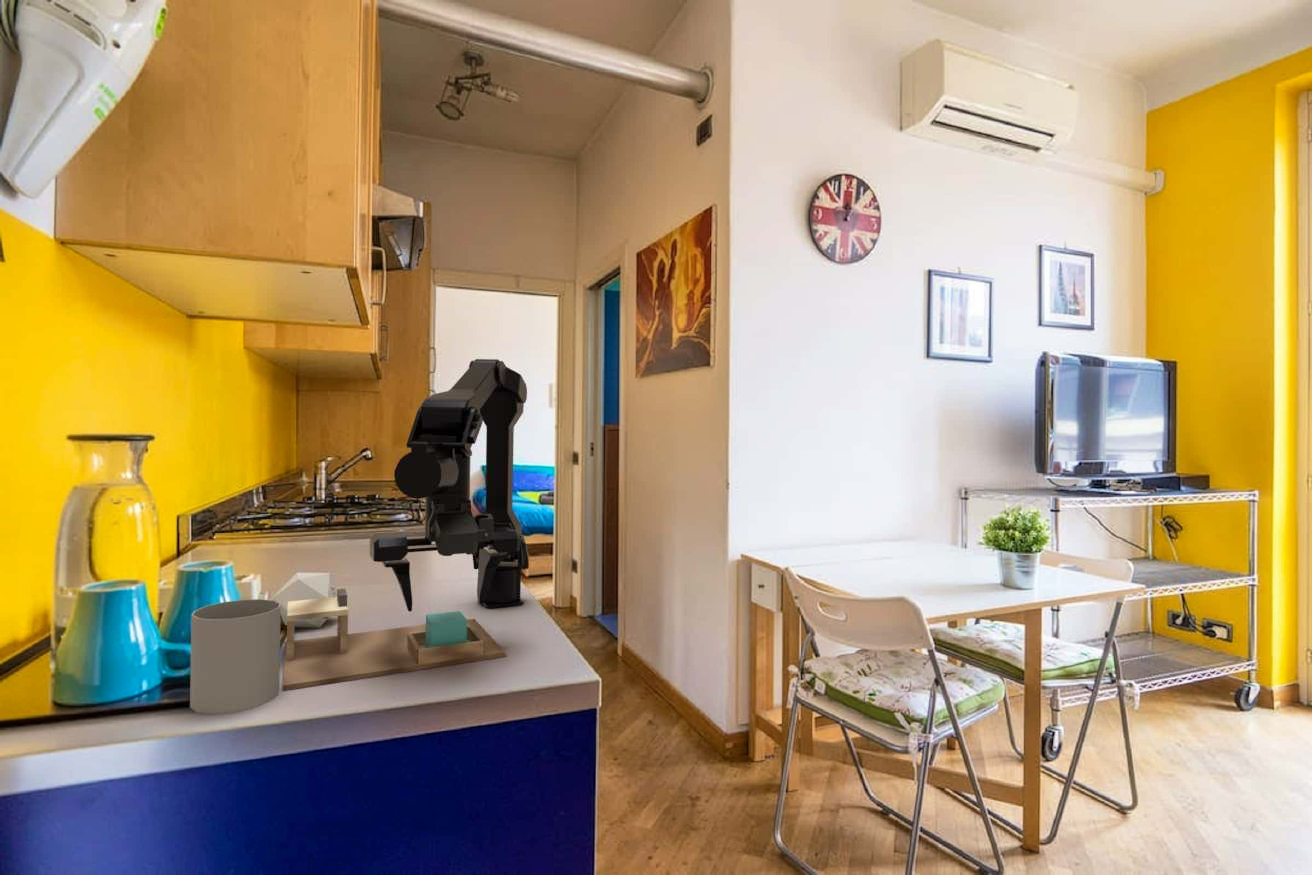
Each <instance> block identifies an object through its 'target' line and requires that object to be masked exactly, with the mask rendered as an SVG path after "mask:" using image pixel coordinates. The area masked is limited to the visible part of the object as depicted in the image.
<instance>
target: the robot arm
mask: <svg viewBox="0 0 1312 875" xmlns="http://www.w3.org/2000/svg"><path fill="white" fill-rule="evenodd" d="M463 373H464V372H463ZM527 397H528V388H527V384H526V381H525V380H524V378H523V376H522V375H521V374H520V373H519V372H517V371H516V370H513V369H511V368H509V367H507V366H506V364H505V362H504V361H503V360H500V359H496V358H495V359H493V358H492V359H491V358H489V359H487V358H476V359H474V360H471V361H470V362H469V365H468V369H467V370H466V371H465V373H464V374H463V375H461V377H460V378H459V379H458V380H457V381H456V382H455V383H454V385H453V386H452V387H451V388H450V389H448V390H447V391H443V392H442V391H441V392H438V393H437V392H436V393H434V394H432V395H430V396H428V397H426V398H425V399H424V400H423V401H422V403H421V405H419V407H418V409H417V412H416V415H415V417H414V420H413V424H412V427H411V430H410V432H409V435H408V439H407V442H406V448H407V449H410V452H408V453H406V454H404V455H403V456H402V457H401V458H400V459H399V461H398V462H397V464H396V467H395V469H394V473H393V475H394V482H395V484H396V486H397V488H398V489H399V491H400V492H401V493H402V494H403V495H405V496H406V497H409V498H412V499H418V500H419V499H424V498H425V499H424V501H425V502H424V504H425V505H424V537H423V536H422V537H409V538H408V537H407V536H406V535H405V533H404V532H400V531H399V532H383V533H382V532H380V533H374V534H373V535H372V536H371V537H370V539H369V556H370V557H371V559H372V561H373V562H375V563H382V565H383V567H385V568H391V569H392V571H393V573H394V575H395V577H396V580H397V583H398V586H399V588H400V591H401V595H402V596H403V597H402V598H403V600H404V603H405V607H406V609H407V611H408V612H413V611H412V610H413V595H412V594H413V593H412V583H411V575H410V568H411V566H410V564H411V563H410V561H409V559H408V558H407V555H408V553H420V552H435V551H437V553H438V555H440V556H442V557H443V556H444V557H452V556H453V555H463V554H465V555H469V556H470V555H472V563H473V570H478V571H477V582H476V583H477V586H476V595H477V603H478V604H480V605H481V604H482V605H483V606H484V608H487V609H491V608H501V607H510V606H518V605H524V603H525V602H524V600H522V598H521V591H522V590H521V588H522V586H521V585H522V584H521V582H522V581H521V579H522V578H521V577H522V571H523V570H528V569H529V568H530V556H529V550H528V544H527V542H526V540H525V537H524V535H523V533H522V532H523V531H522V527H523V526H522V523H521V522H520V520H519V518H518V516H517V515H516V513H515V511H514V510H513V509H514V508H513V502H514V501H513V500H514V499H513V492H514V491H513V490H514V489H513V488H514V443H515V442H514V438H515V437H514V436H515V435H514V434H515V433H514V432H515V426H516V424H517V423H518V421H519V420H520V419H521V416H522V415H523V414H524V408H525V407H524V404H525V403H526V402H527V399H528V398H527ZM483 423H484V425H485V428H486V436H485V438H486V439H485V440H486V444H485V445H486V446H485V448H486V449H485V450H486V451H485V501H484V502H485V503H484V505H485V508H484V509H485V510H484V513H479V514H476V515H475V516H473V515H474V514H473V512H472V500H471V499H470V498H471V491H470V490H471V457H472V456H473V451H472V449H471V448H472V446H473V445H475V444H476V442H477V439H478V436H479V434H480V431H481V428H482V426H483ZM433 542H434V543H433Z"/></svg>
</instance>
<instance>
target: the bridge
mask: <svg viewBox="0 0 1312 875" xmlns="http://www.w3.org/2000/svg"><path fill="white" fill-rule="evenodd" d="M336 589H337V597H330V598H320V599H310V600H299V601H289V602H288V611H287V627H286V642H287V660H294V641H295V627H294V621H295V620H304V619H313V618H322V617H328V618H330V617H337V621H336V622H337V623H336V624H337V625H336V626H337V631H336V632H337V633H336V634H337V635H336V636H337V638H340V652H341V653H346V652H347V644H348V634H349V630H348V629H349V628H348V627H349V608H348V594H347V590H346V588H336Z"/></svg>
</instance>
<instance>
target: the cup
mask: <svg viewBox="0 0 1312 875" xmlns="http://www.w3.org/2000/svg"><path fill="white" fill-rule="evenodd" d="M190 617H191V622H190V626H191V627H190V678H189V679H190V682H189V683H190V684H189V685H190V686H189V689H190V690H189V693H190V694H189V696H190V697H189V708H190V710H192V711H193V712H195V713H196V714H205V715H221V714H232V713H237V712H241V711H245V710H251V709H254V708H256V707H259V706H261V705H264V704H267V703H269V702H270V701H272V700H273V699H275V698H276V697H278V696H279V693H280V672H281V669H280V668H281V667H280V666H281V665H280V664H281V663H280V662H281V657H280V656H281V603H279V602H276V601H274V599H273V600H271V599H261V598H260V599H259V598H258V599H256V598H255V599H239V600H231V601H223V602H218V603H213V604H210V605H209V604H208V605H205V606H203V607H200V608H198V609H196V610H193V612H192V613H191V616H190Z"/></svg>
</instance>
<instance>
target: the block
mask: <svg viewBox="0 0 1312 875" xmlns="http://www.w3.org/2000/svg"><path fill="white" fill-rule="evenodd" d="M467 620H468V619H467V618H466V617H465V615H464V614H463V613H462V612H461V611H460V610H457V611H456V610H455V611H449V612H448V611H447V612H440V613H437V612H436V613H431V614H426V615H425V625H426V640H425V648H431V647H438V646H446V645H453V644H460V643H467Z"/></svg>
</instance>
